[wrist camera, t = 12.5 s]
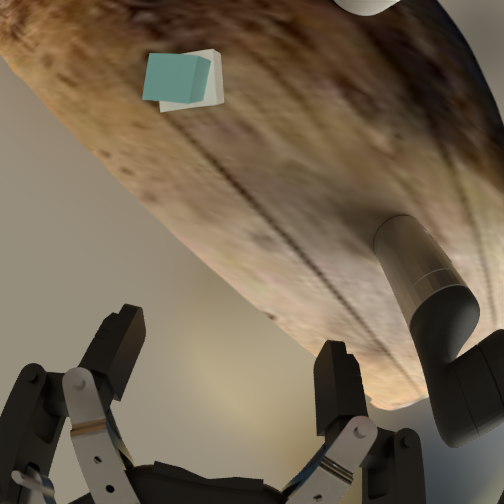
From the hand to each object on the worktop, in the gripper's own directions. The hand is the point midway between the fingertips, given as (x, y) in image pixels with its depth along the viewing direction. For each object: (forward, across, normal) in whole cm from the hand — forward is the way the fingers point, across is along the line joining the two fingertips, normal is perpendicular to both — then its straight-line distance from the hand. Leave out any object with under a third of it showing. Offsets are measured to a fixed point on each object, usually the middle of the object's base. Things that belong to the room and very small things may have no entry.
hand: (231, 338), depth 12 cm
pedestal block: (+30, +10, -10) cm, 33 cm away
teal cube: (+25, +10, -10) cm, 29 cm away
